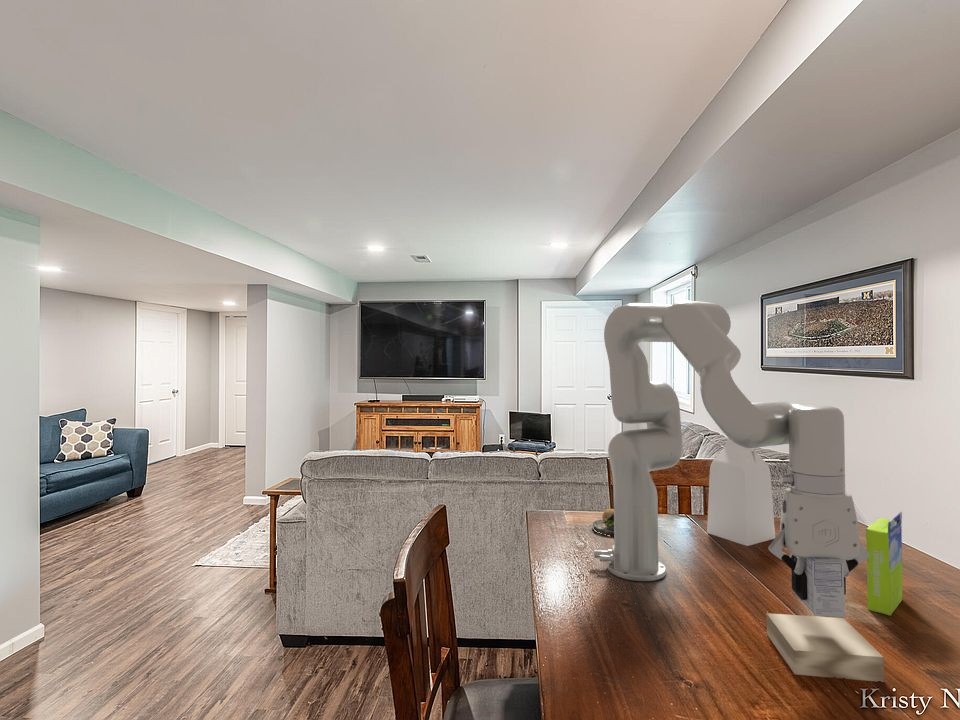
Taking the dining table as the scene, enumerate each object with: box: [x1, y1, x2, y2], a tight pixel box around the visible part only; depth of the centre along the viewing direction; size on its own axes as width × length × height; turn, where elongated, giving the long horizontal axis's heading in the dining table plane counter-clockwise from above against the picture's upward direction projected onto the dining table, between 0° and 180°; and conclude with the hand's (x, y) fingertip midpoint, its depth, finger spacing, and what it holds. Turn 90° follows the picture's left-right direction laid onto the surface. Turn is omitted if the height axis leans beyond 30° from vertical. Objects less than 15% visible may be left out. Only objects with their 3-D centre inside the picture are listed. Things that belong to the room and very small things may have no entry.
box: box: [865, 511, 903, 617], centre depth 102 cm, size 10×4×17 cm, turn 132°
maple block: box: [766, 612, 885, 683], centre depth 85 cm, size 12×12×4 cm
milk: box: [706, 437, 776, 547], centre depth 143 cm, size 12×12×26 cm
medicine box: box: [794, 558, 846, 618], centre depth 85 cm, size 8×4×9 cm, turn 168°
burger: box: [592, 503, 614, 537], centre depth 149 cm, size 12×12×8 cm
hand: (818, 596), depth 85 cm, fingers closed on medicine box, 4 cm apart
